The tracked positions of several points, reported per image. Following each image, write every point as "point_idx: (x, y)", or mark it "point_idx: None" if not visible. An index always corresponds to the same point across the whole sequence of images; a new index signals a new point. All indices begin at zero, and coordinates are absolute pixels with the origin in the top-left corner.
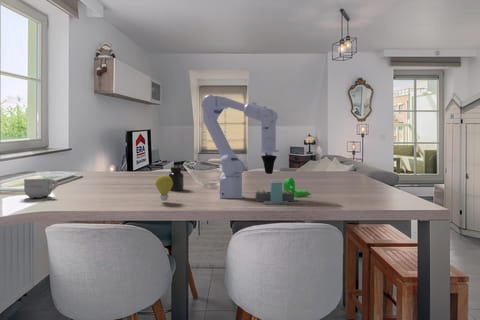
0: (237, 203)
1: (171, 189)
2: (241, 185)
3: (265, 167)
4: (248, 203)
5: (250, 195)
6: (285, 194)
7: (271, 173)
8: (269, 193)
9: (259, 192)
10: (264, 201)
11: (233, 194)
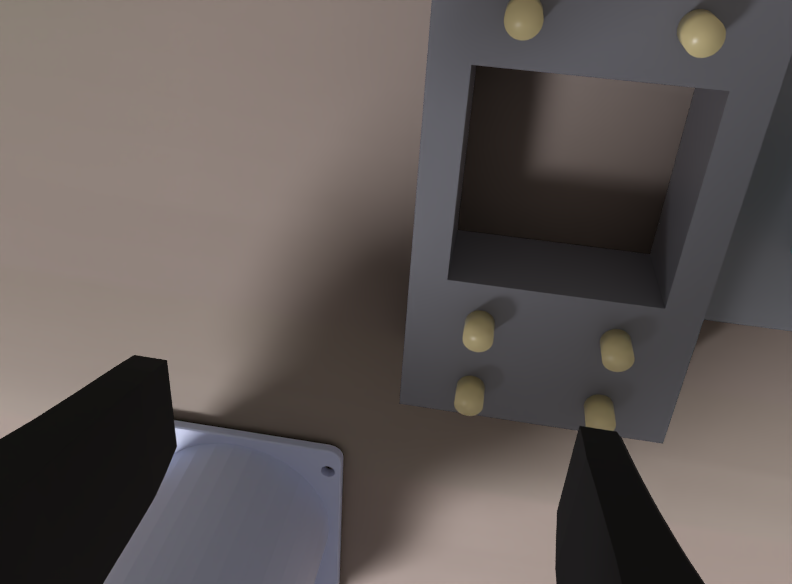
0: (749, 554)
1: None
2: (227, 557)
3: (114, 543)
4: (788, 473)
5: (3, 320)
6: (790, 37)
7: (622, 448)
8: (682, 285)
9: (606, 402)
10: (780, 321)
11: (322, 551)
